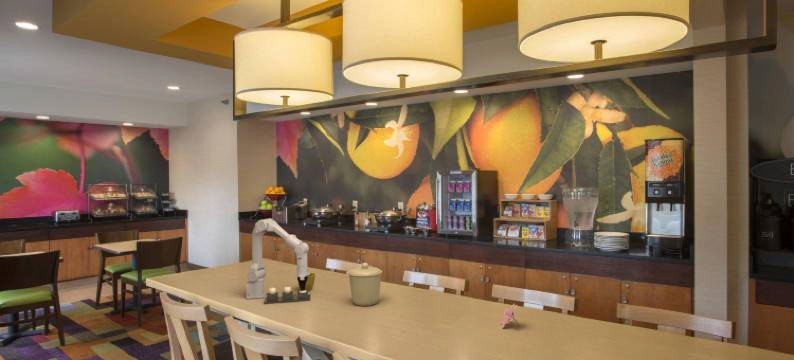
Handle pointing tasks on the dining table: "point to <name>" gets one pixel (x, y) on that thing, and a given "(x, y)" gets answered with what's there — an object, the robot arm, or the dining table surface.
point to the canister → (365, 284)
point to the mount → (287, 298)
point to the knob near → (272, 291)
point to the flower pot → (309, 281)
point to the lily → (509, 315)
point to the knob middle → (287, 290)
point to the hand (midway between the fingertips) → (302, 290)
